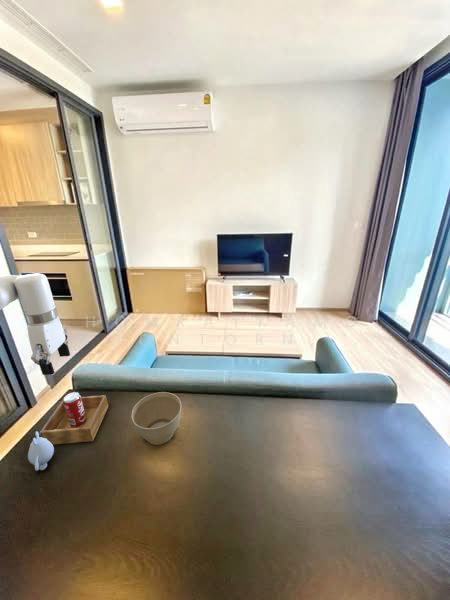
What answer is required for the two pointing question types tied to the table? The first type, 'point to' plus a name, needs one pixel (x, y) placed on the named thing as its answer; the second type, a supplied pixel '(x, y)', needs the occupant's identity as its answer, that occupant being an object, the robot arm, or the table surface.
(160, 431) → the planter bowl
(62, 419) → the wooden tray
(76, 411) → the soda can
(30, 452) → the toy figure
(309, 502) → the table surface
